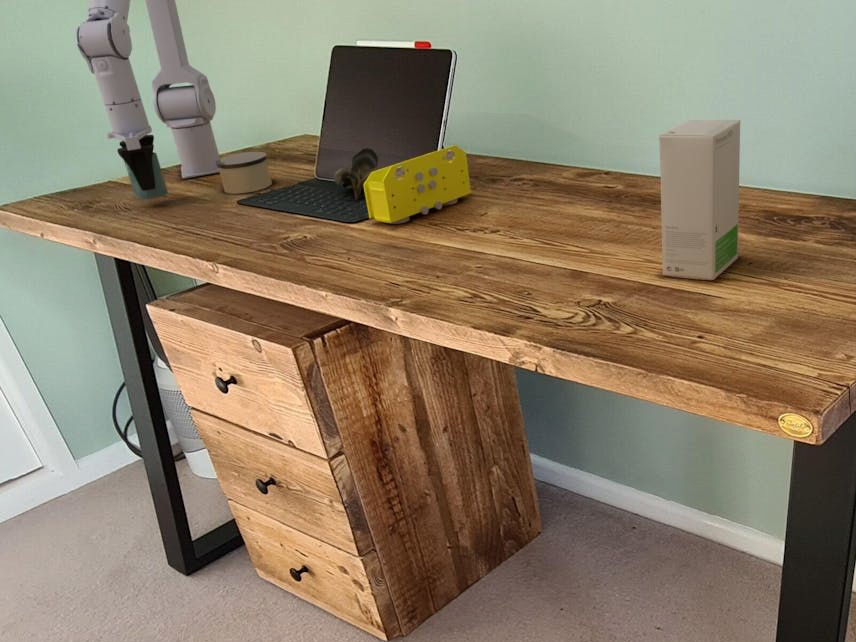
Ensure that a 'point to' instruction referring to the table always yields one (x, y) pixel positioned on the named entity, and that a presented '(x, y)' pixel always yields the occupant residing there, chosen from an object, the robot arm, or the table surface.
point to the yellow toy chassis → (417, 185)
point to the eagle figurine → (357, 171)
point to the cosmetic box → (700, 197)
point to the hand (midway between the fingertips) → (149, 185)
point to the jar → (244, 172)
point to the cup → (159, 182)
